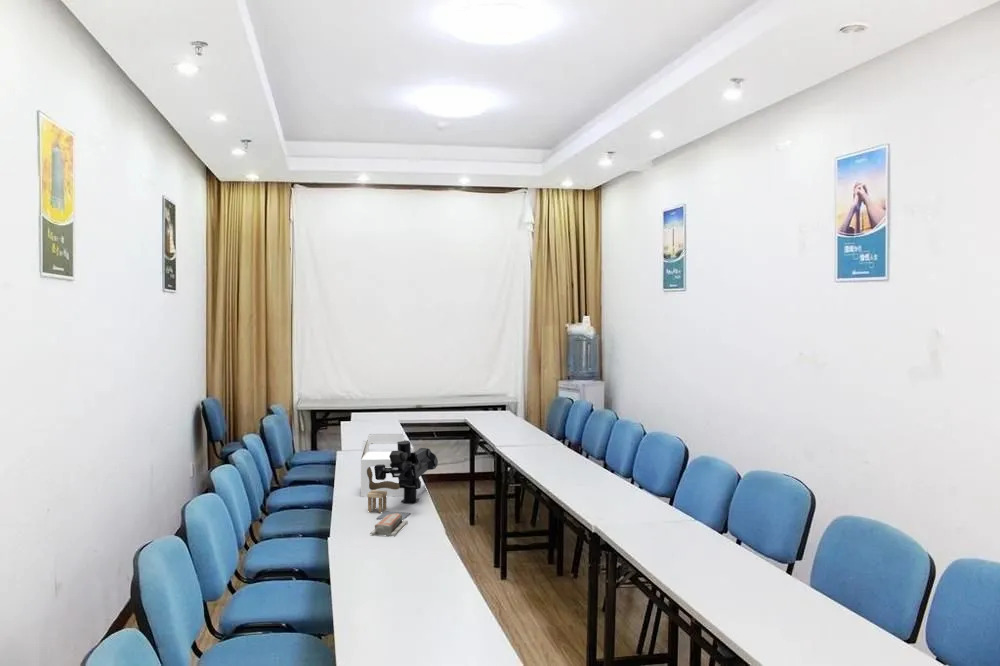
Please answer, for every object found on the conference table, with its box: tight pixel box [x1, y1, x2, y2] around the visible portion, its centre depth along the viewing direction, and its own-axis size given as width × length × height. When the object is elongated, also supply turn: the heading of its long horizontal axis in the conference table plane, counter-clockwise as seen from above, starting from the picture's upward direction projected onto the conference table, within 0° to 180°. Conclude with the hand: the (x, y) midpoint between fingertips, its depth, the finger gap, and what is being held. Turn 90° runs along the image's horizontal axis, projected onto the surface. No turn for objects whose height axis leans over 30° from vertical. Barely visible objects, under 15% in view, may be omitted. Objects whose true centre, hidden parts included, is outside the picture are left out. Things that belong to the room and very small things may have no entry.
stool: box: [366, 490, 387, 514], centre depth 315 cm, size 6×6×8 cm
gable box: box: [360, 433, 406, 497], centre depth 345 cm, size 22×13×28 cm, turn 94°
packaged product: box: [369, 513, 409, 537], centre depth 290 cm, size 18×5×10 cm
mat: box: [376, 510, 411, 521], centre depth 307 cm, size 11×11×1 cm
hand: (388, 478), depth 306 cm, fingers open, 9 cm apart
